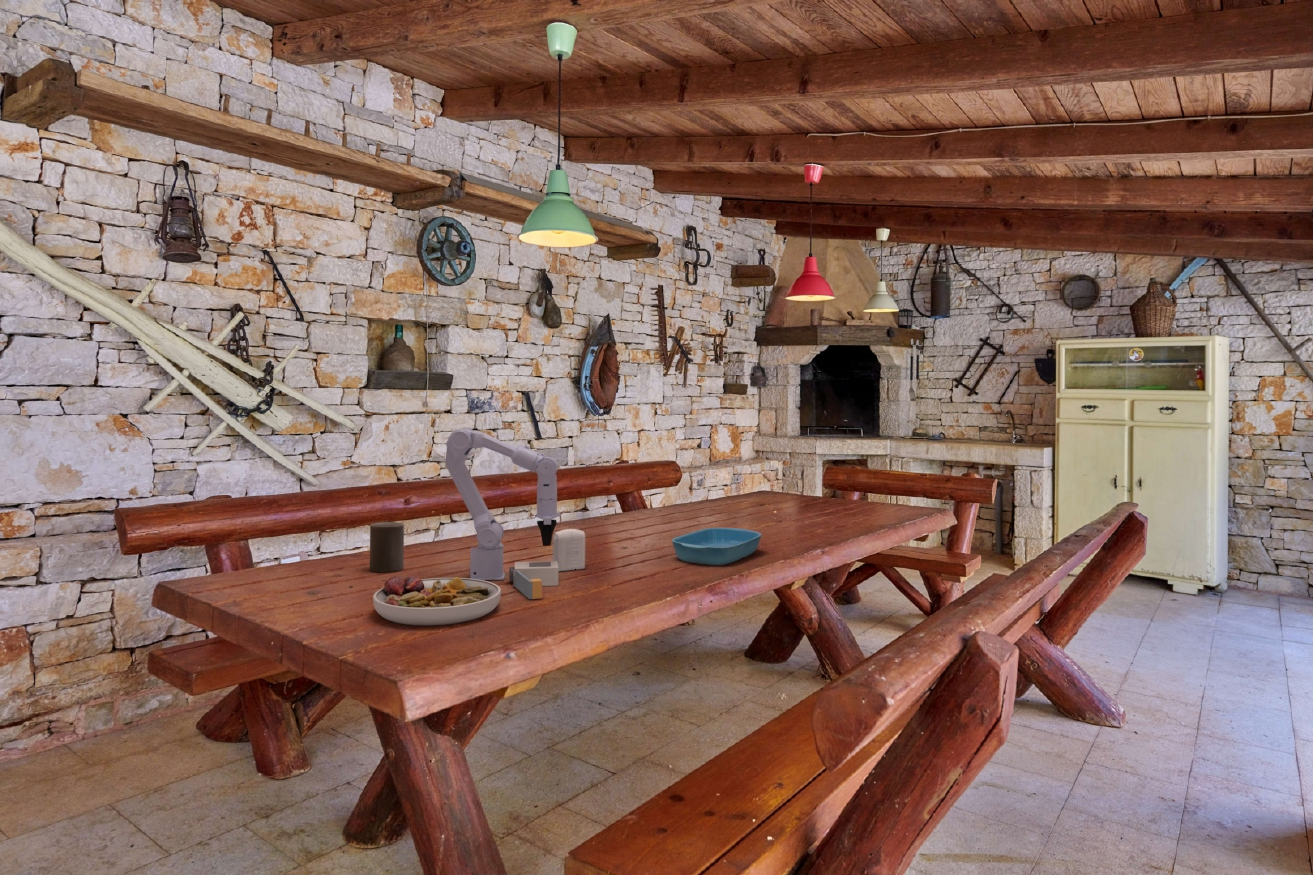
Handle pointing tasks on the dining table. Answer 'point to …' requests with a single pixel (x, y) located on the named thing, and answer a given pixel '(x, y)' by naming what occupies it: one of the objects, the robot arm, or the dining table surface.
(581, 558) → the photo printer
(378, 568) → the pillar candle
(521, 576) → the grey and orange bar
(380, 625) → the dining table surface
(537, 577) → the camera housing
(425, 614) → the bowl
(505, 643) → the dining table surface
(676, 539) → the casserole dish
